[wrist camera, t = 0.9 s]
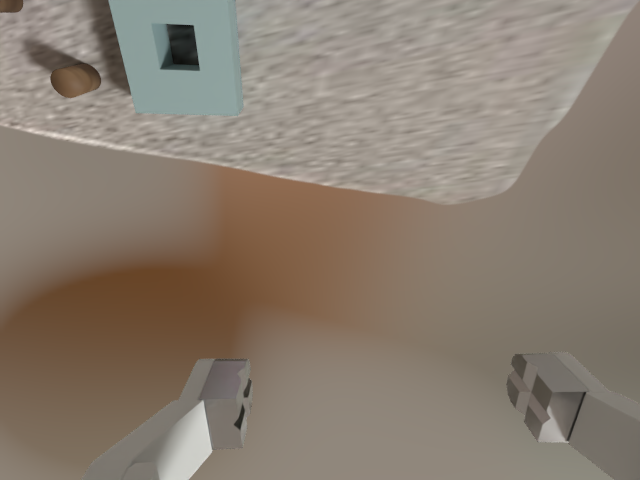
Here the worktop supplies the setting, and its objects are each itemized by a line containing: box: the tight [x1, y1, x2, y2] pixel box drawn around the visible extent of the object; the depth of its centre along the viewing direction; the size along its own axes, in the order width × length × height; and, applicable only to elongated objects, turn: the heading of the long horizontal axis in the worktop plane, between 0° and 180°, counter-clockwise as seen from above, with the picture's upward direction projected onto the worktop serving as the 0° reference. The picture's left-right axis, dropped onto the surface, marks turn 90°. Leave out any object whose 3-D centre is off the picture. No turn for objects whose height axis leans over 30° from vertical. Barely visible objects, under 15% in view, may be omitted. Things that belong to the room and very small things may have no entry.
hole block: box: [108, 0, 243, 116], centre depth 39 cm, size 14×12×5 cm
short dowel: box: [51, 64, 101, 98], centre depth 41 cm, size 3×3×5 cm
